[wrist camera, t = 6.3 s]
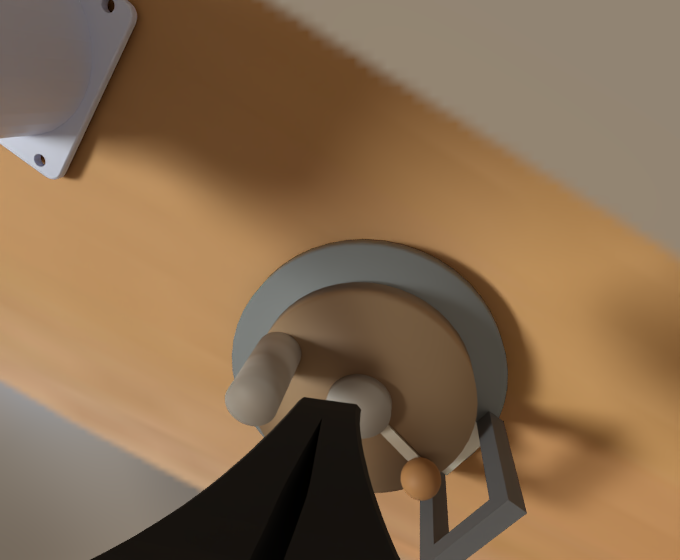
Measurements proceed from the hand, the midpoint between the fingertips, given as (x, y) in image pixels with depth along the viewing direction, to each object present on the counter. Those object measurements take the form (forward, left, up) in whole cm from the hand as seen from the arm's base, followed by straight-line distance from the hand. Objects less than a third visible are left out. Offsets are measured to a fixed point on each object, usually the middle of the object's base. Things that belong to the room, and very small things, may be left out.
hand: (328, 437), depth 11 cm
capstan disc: (+2, -4, -9) cm, 10 cm away
